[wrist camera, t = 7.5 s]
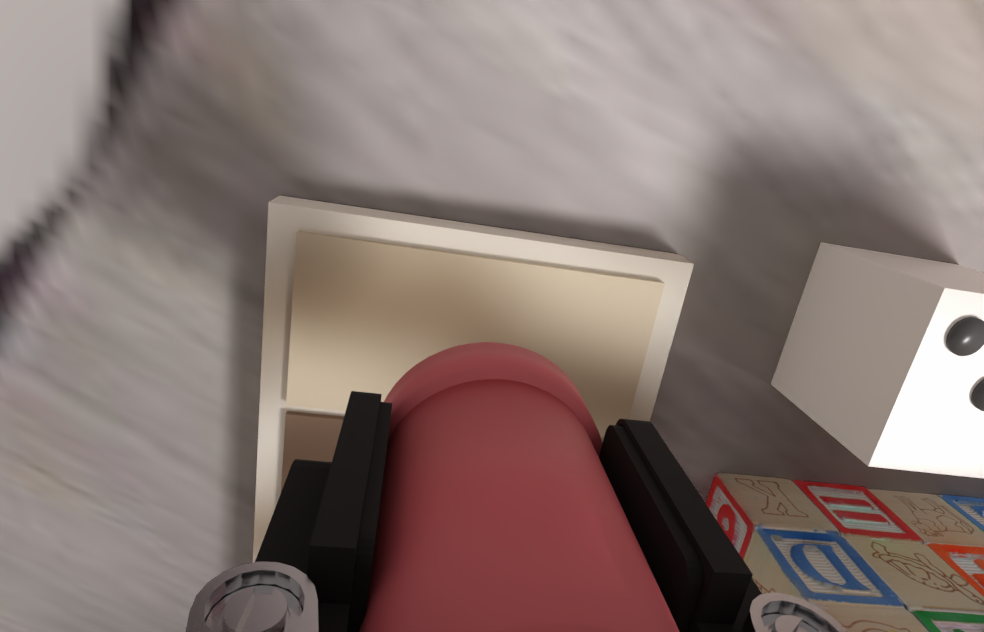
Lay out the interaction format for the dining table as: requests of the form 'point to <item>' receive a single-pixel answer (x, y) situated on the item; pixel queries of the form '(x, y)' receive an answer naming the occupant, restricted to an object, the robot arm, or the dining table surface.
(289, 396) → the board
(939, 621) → the stack of blocks
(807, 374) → the die
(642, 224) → the dining table surface
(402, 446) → the pawn
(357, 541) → the robot arm
